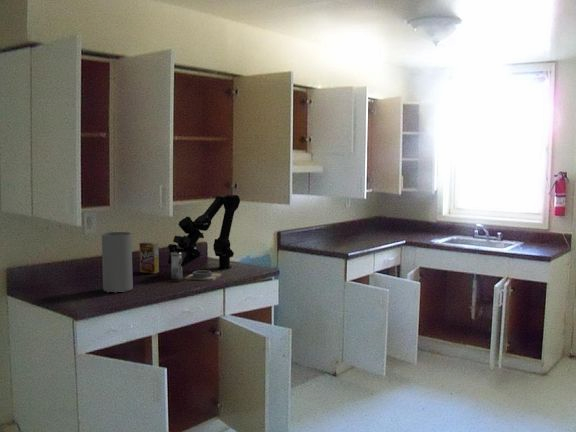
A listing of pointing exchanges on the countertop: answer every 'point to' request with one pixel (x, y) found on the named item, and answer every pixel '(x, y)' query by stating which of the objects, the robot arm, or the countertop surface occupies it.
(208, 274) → the collar
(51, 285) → the countertop surface
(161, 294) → the countertop surface
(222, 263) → the robot arm
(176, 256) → the metal canister
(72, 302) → the countertop surface
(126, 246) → the cylinder vase
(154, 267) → the candy box
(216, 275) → the duct board
